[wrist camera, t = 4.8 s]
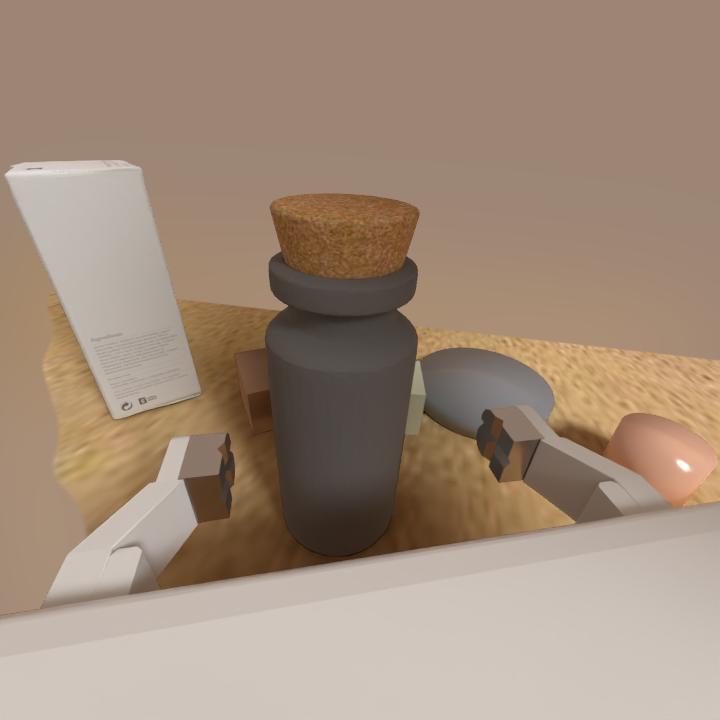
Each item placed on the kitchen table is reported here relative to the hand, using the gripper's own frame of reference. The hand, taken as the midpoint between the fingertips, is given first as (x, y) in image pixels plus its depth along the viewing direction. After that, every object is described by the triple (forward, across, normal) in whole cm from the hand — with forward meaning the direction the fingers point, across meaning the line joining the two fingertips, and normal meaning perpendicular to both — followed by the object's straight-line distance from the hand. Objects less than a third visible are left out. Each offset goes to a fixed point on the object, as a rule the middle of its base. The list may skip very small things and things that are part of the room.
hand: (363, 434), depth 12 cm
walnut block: (+13, +3, +9) cm, 16 cm away
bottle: (+4, 0, +9) cm, 10 cm away
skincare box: (+17, +13, +9) cm, 23 cm away
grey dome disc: (+12, -12, +9) cm, 19 cm away
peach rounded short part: (+3, -18, +9) cm, 20 cm away
